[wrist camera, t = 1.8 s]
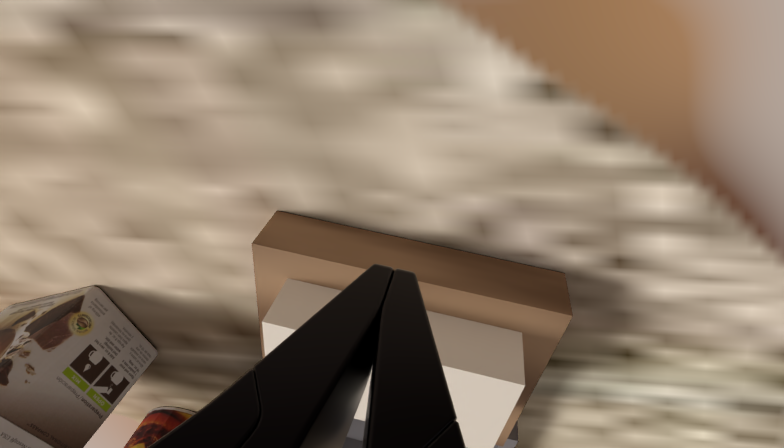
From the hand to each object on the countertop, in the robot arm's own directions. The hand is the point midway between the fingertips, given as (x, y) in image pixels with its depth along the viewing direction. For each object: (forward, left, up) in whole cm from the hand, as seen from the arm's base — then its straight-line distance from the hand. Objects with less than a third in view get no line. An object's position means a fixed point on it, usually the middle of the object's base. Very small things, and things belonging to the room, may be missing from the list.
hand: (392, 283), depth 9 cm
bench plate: (-11, 0, -9) cm, 14 cm away
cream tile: (-10, 0, -6) cm, 12 cm away
